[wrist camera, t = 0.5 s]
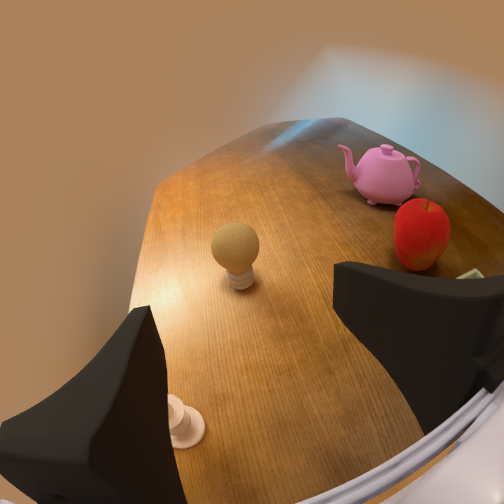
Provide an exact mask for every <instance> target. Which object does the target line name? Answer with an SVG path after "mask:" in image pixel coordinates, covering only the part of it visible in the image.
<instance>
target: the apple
mask: <svg viewBox="0 0 504 504" xmlns="http://www.w3.org/2000/svg"><path fill="white" fill-rule="evenodd" d="M450 237H451V229H450V221H449V218H448V216H447V215H446V213H445V212H444V210H443V209H442V208H441V207H440V206H439V205H437V204H435V203H433V202H431V201H429V200H426V199H423V198H416V199H411V200H410V201H408V202H406V203H404V204H403V205H402V206H401V207H400V208H399V210H398V212H397V213H396V215H395V227H394V236H393V239H394V244H395V250H396V255H397V257H398V259H399V261H400V262H401V263H402V264H403V266H404V267H405V268H406V269H408V270H409V271H413V272H414V271H422V270H426V269H428V268H430V267H431V266H432V265H433V264H434V263H435V262H436V261H437V259H438V258H439V257H440V256H441V255H442V253H443V252H444V250H445V248H446V246H447V243H448V241H449V239H450Z"/></svg>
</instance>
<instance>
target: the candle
mask: <svg viewBox="0 0 504 504" xmlns="http://www.w3.org/2000/svg"><path fill="white" fill-rule="evenodd" d="M168 416H169V429H170V436H171V441H172V446H173V447H174V448H179V449H187V448H190V447H193V446H195V445H196V444H198V443H199V442H200V441H201V440H202V438H203V436H204V434H205V429H206V426H205V421H204V419H203V417H202V415H201V414H200V413H199V412H198V411H197V410H195V409H194V408H192V407H189V406H184V405H183V403H182V401H181V400H180V399H179V398H178V397H177V396H175V395H173V394H169V393H168Z"/></svg>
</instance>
